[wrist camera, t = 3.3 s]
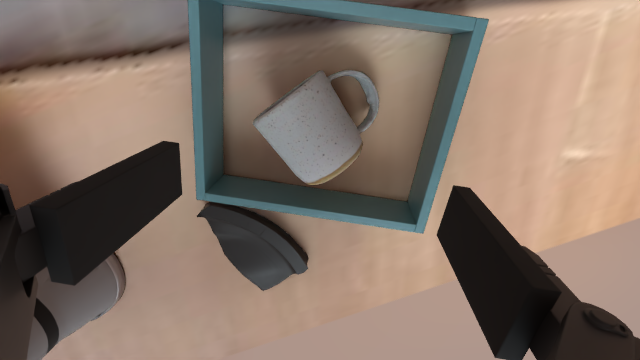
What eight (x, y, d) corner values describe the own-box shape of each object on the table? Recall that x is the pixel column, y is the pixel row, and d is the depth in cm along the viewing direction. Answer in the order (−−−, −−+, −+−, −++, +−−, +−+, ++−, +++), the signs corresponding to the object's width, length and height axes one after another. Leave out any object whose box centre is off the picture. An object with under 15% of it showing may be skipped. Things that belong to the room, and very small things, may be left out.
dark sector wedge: (239, 178, 35) (235, 184, 33) (312, 259, 38) (311, 268, 37) (191, 215, 37) (184, 222, 36) (263, 288, 41) (260, 297, 39)
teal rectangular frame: (216, 180, 35) (196, 199, 30) (213, -9, 27) (186, -21, 23) (413, 209, 34) (423, 234, 30) (465, 24, 27) (489, 19, 22)
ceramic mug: (309, 172, 33) (301, 204, 26) (262, 111, 31) (239, 128, 24) (393, 117, 31) (409, 135, 23) (348, 45, 28) (350, 41, 21)
